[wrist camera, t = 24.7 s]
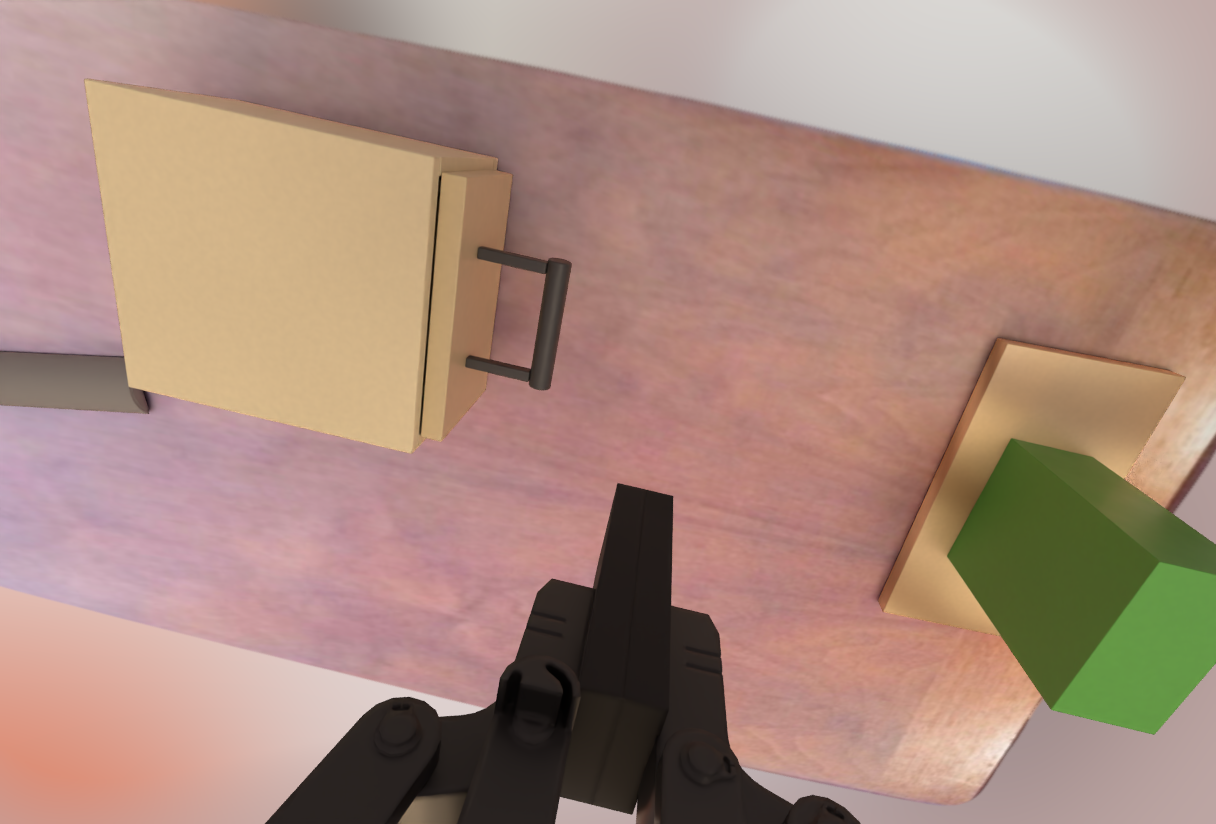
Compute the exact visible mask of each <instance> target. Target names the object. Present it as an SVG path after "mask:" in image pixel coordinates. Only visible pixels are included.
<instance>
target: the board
mask: <svg viewBox="0 0 1216 824" xmlns="http://www.w3.org/2000/svg"><path fill="white" fill-rule="evenodd" d="M1185 379H1186V377H1184V376H1182V375H1179V374H1177V373H1174V372H1172V371H1169V370H1164V369H1159V368H1153V367H1148V366H1143V365H1138V364H1132V363H1127V362H1122V361H1117V360H1111V359H1106V358H1101V357H1095V356H1090V355H1085V354H1080V353H1074V352H1069V351H1064V350H1059V349H1053V348H1048V347H1043V346H1038V345H1032V344H1027V343H1022V342H1017V341H1011V340H1006V339H1001V338H997V340H996V342H995V345H994V347H993V349H992V351H991V353H990V356H989V358H988V360H987V362H986V364H985V367H984V369H983V371H982V373H981V375H980V378H979V380H978V382H977V384H976V386H975V389H974V391H973V393H972V395H971V397H970V400H969V402H968V404H967V406H966V408H965V411H964V413H963V415H962V417H961V419H960V422H959V424H958V426H957V428H956V430H955V433H954V435H953V437H952V439H951V441H950V444H949V446H948V448H947V450H946V452H945V455H944V457H943V459H942V461H941V463H940V466H939V468H938V470H937V472H936V474H935V477H934V479H933V481H932V483H931V485H930V487H929V490H928V492H927V494H926V496H925V498H924V501H923V503H922V505H921V507H920V509H919V512H918V514H917V516H916V518H915V520H914V523H913V525H912V527H911V529H910V531H909V534H908V536H907V538H906V540H905V542H904V545H903V547H902V549H901V551H900V553H899V556H898V558H897V560H896V562H895V564H894V567H893V569H892V571H891V573H890V575H889V578H888V580H887V582H886V584H885V586H884V589H883V591H882V593H881V595H880V597H879V600H878V602H879V604H880V606H881V608H882V611H883V612H886V613H891V614H895V615H900V616H905V617H910V618H915V619H919V620H924V621H929V622H934V623H938V624H943V625H948V626H953V627H958V628H962V629H967V630H972V631H977V632H982V633H986V634H991V635H996V636H1001V635H1000V634H999V632H998V631H997V629H996V628H995V626H994V625H993V624H992V622H991V621H990V619H989V618H988V616H987V615H986V613H985V612H984V610H983V609H982V607H981V606H980V604H979V603H978V601H977V600H976V598H975V597H974V596H973V594H972V593H971V591H970V590H969V588H968V587H967V585H966V584H965V582H964V581H963V579H962V578H961V576H960V575H959V573H958V572H957V570H956V569H955V568H954V566H953V565H952V563H951V562H950V560H949V559H948V557H947V555H948V553H949V551H950V549H951V547H952V546H953V544H954V542H955V540H956V538H957V536H958V535H959V533H960V531H961V529H962V527H963V525H964V524H965V522H966V520H967V518H968V516H969V514H970V513H971V511H972V509H973V507H974V505H975V503H976V502H977V500H978V498H979V496H980V494H981V492H982V491H983V489H984V487H985V485H986V483H987V482H988V480H989V478H990V476H991V474H992V472H993V471H994V469H995V467H996V465H997V463H998V461H999V460H1000V458H1001V456H1002V454H1003V452H1004V450H1005V449H1006V447H1007V445H1008V443H1009V441H1010V439H1011V438H1013V439H1017V440H1022V441H1026V442H1030V443H1035V444H1039V445H1043V446H1048V447H1052V448H1056V449H1061V450H1065V451H1069V452H1074V453H1078V454H1082V455H1087V456H1091V457H1094V458H1095V459H1096V460H1098V461H1099V462H1101V463H1102V464H1103V465H1105V466H1106V467H1108V468H1109V469H1110V470H1112V471H1113V472H1115V473H1116V474H1117V475H1119V476H1120V477H1122V478H1123V479H1125V477H1126V476H1127V474H1128V472H1129V471H1130V469H1131V467H1132V466H1133V464H1134V462H1135V461H1136V459H1137V458H1138V456H1139V454H1140V453H1141V451H1142V449H1143V448H1144V446H1145V444H1146V443H1147V441H1148V439H1149V438H1150V436H1151V435H1152V433H1153V431H1154V430H1155V428H1156V426H1157V425H1158V423H1159V421H1160V420H1161V418H1162V416H1163V415H1164V413H1165V412H1166V410H1167V408H1168V407H1169V405H1170V403H1171V402H1172V400H1173V398H1174V397H1175V395H1176V393H1177V392H1178V390H1179V389H1180V387H1181V385H1182V384H1183V382H1184V380H1185Z"/></svg>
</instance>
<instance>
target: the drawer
mask: <svg viewBox="0 0 1216 824" xmlns="http://www.w3.org/2000/svg"><path fill="white" fill-rule="evenodd" d="M512 177H513V175H512V174H510V173H506V172H501V171H497V170H477V171H451V172H442V174H441V176H439V181H438V194H437V207H436V220H435V233H434V246H433V259H432V271H431V284H430V297H429V310H428V323H427V336H426V349H425V361H424V374H423V387H422V396H424V401H423V414H422V426H421V437H424V438H428V439H432V440H436V441H443V439H444V438H445V437H446V436H447V435H448V434H449V432H450V431H451V430H452V429H453V428H454V426H455V425H456V424H457V423H458V422H459V421H460V419H461V418H462V417H463V416H464V415H465V414H466V412H467V411H468V410H469V409H470V408H471V407H472V405H473V404H474V403H475V402H476V401H477V400H478V398H479V397H480V396H481V395H482V394H483V393H484V391H485V390H486V384H487V376H488V373H492V374H496V375H500V376H505V377H509V378H513V379H518V380H522V381H526V382H528V381H529V386H530V387H532V388H534V389H537V390H548V389H549V388H550V386H551V380H552V375H553V369H554V363H555V358H556V352H557V346H558V340H559V335H560V329H561V323H562V318H563V312H564V306H565V300H566V295H567V289H568V283H569V277H570V272H571V266H572V263H571V262H569V261H567V260H564V259H559V258H549V260H548V261H546V260H541V259H537V258H533V257H528V256H524V255H519V254H515V253H511V252H506V251H503V249H504V241H505V233H506V225H507V217H508V209H509V201H510V193H511V185H512ZM501 265H507V266H511V267H515V268H520V269H524V270H529V271H533V272H537V273H542V274H546V278H545V284H544V291H543V297H542V303H541V310H540V316H539V322H538V329H537V335H536V341H535V348H534V354H533V360H532V367H531V369H528V368H524V367H520V366H515V365H511V364H507V363H503V362H498V361H494V360H490V352H491V344H492V336H493V328H494V320H495V312H496V304H497V296H498V288H499V280H500V273H501Z"/></svg>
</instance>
